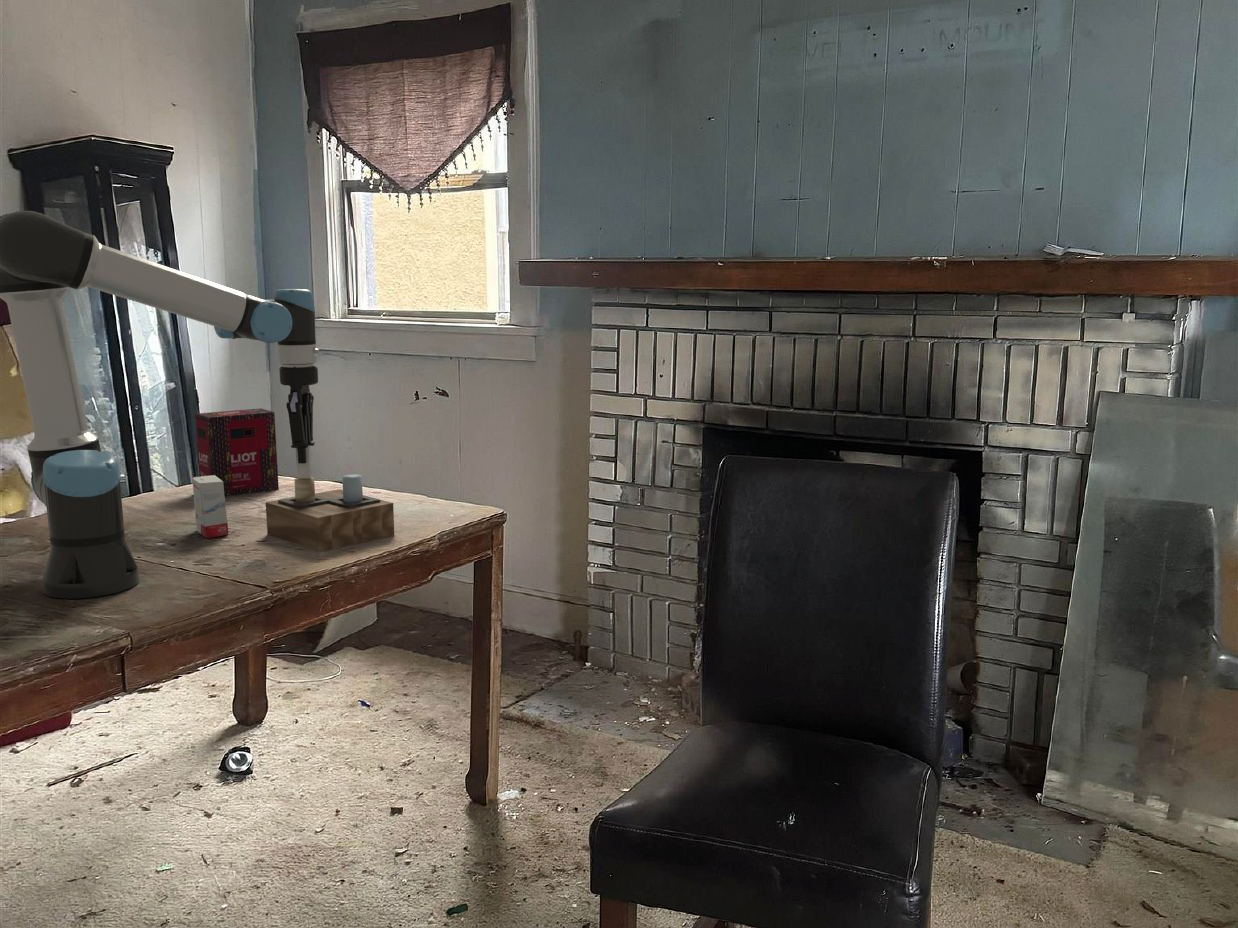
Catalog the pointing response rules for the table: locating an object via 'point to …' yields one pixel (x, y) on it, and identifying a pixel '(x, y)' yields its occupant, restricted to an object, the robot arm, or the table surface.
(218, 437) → the box
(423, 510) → the table surface
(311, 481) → the birch peg rear
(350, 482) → the slate peg front
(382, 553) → the table surface
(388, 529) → the walnut block
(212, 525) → the ink box
